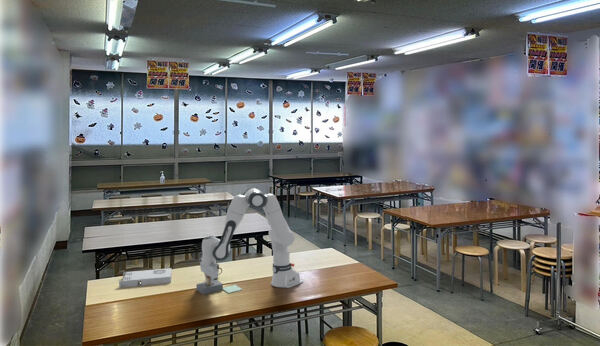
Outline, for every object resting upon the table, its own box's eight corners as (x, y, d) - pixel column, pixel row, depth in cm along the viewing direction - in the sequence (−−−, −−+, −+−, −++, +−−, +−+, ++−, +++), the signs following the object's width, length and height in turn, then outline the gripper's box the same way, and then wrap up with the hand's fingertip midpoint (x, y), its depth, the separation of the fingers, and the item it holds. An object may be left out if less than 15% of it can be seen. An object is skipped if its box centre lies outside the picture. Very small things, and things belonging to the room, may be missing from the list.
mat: (235, 285, 278) (235, 284, 278) (242, 290, 270) (242, 289, 270) (221, 288, 272) (221, 288, 272) (228, 293, 264) (228, 292, 264)
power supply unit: (123, 279, 293) (123, 272, 292) (171, 274, 301) (171, 268, 301) (119, 288, 274) (119, 281, 274) (170, 283, 283) (170, 276, 283)
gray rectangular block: (216, 285, 278) (216, 279, 278) (222, 289, 270) (222, 283, 270) (196, 289, 270) (196, 284, 270) (202, 294, 262) (202, 288, 262)
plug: (211, 288, 273) (211, 275, 272) (214, 290, 270) (213, 276, 269) (205, 289, 271) (205, 276, 270) (208, 291, 267) (207, 278, 266)
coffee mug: (204, 278, 292) (204, 264, 291) (216, 275, 297) (215, 262, 297) (211, 282, 283) (211, 268, 282) (223, 280, 288) (223, 266, 287)
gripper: (220, 263, 262) (221, 285, 263) (207, 256, 278) (207, 276, 279) (211, 265, 258) (211, 287, 259) (198, 258, 274) (198, 278, 276)
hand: (209, 281), depth 270 cm, fingers open, 6 cm apart
